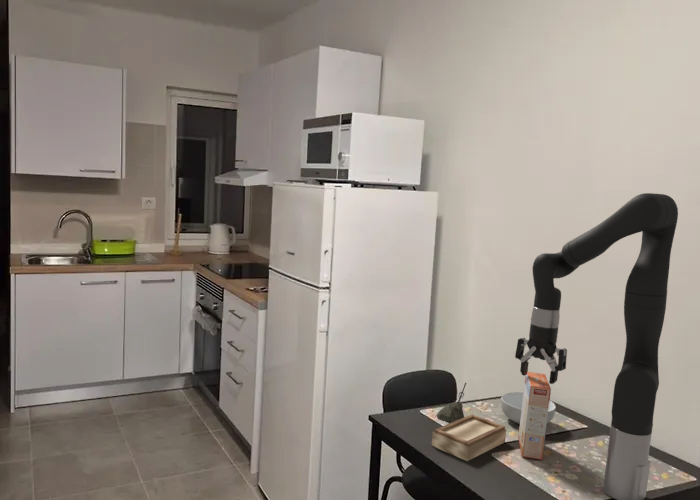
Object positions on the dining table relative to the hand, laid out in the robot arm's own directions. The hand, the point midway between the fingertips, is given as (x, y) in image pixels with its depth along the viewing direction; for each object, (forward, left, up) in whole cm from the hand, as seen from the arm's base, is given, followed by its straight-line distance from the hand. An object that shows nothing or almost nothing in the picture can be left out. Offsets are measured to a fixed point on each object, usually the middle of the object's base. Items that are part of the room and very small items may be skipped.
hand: (537, 379), depth 174 cm
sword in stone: (+27, 0, -21) cm, 34 cm away
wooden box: (+13, +12, -21) cm, 27 cm away
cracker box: (0, 0, -21) cm, 21 cm away
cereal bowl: (+11, -18, -21) cm, 30 cm away
